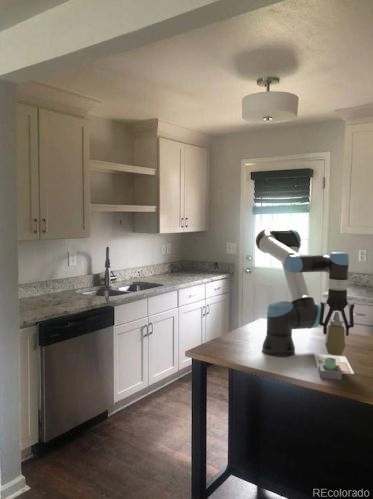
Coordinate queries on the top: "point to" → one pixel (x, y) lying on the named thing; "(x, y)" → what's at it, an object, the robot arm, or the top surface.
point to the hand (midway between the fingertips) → (335, 342)
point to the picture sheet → (340, 361)
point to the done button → (330, 364)
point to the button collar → (330, 372)
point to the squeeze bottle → (335, 337)
